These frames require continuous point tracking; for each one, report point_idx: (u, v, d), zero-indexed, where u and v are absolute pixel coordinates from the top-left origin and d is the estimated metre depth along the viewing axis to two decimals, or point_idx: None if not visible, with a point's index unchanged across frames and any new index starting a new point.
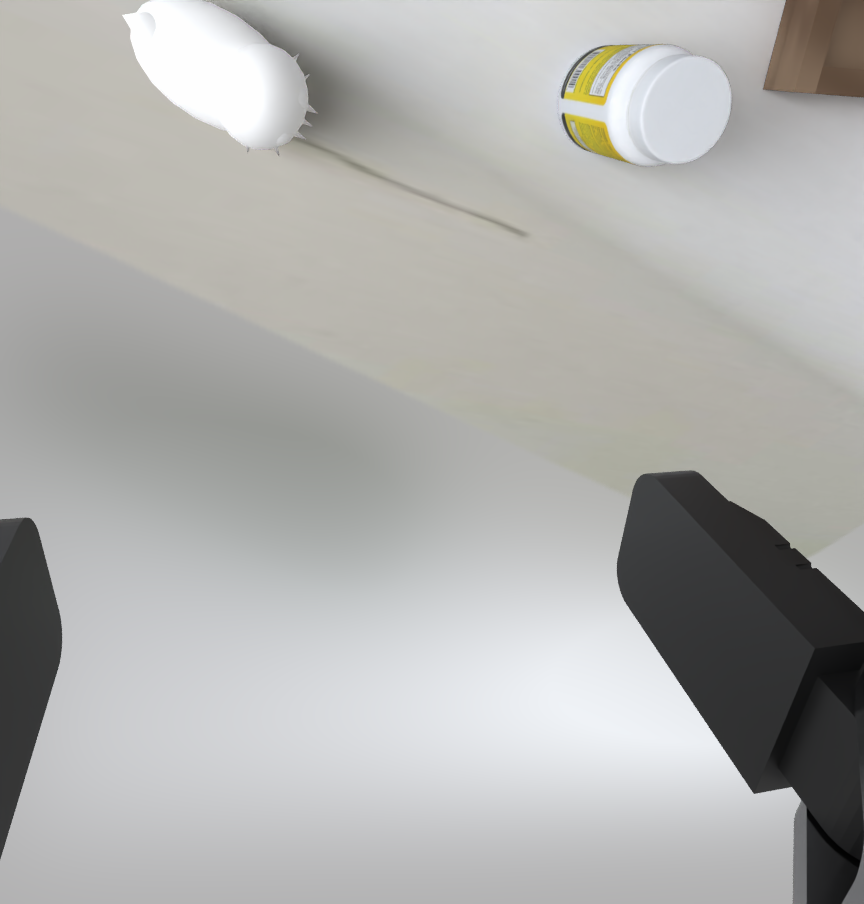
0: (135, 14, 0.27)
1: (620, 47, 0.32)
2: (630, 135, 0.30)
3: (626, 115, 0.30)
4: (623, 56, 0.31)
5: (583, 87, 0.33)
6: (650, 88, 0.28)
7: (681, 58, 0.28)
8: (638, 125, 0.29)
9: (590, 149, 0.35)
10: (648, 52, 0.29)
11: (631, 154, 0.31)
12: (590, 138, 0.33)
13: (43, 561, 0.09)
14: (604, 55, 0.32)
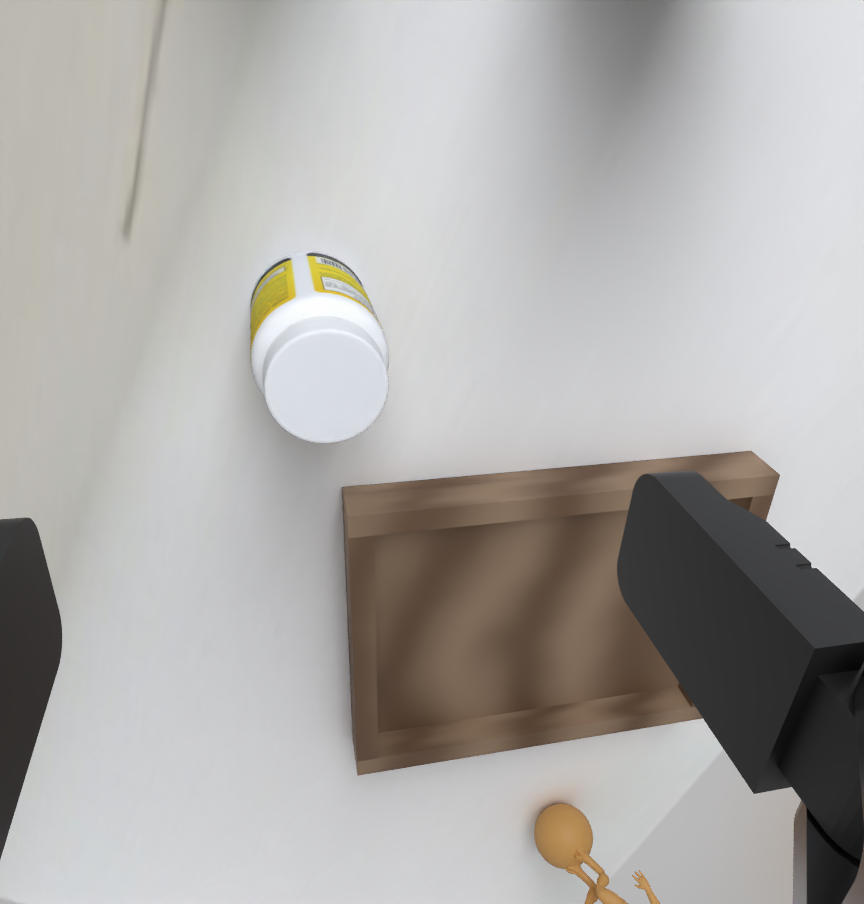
0: None
1: None
2: (288, 328, 0.23)
3: (310, 317, 0.23)
4: (369, 306, 0.25)
5: (325, 271, 0.26)
6: (348, 333, 0.22)
7: (384, 365, 0.23)
8: (303, 331, 0.22)
9: (255, 299, 0.27)
10: (379, 331, 0.25)
11: (263, 338, 0.24)
12: (270, 291, 0.26)
13: (42, 561, 0.09)
14: (362, 290, 0.27)
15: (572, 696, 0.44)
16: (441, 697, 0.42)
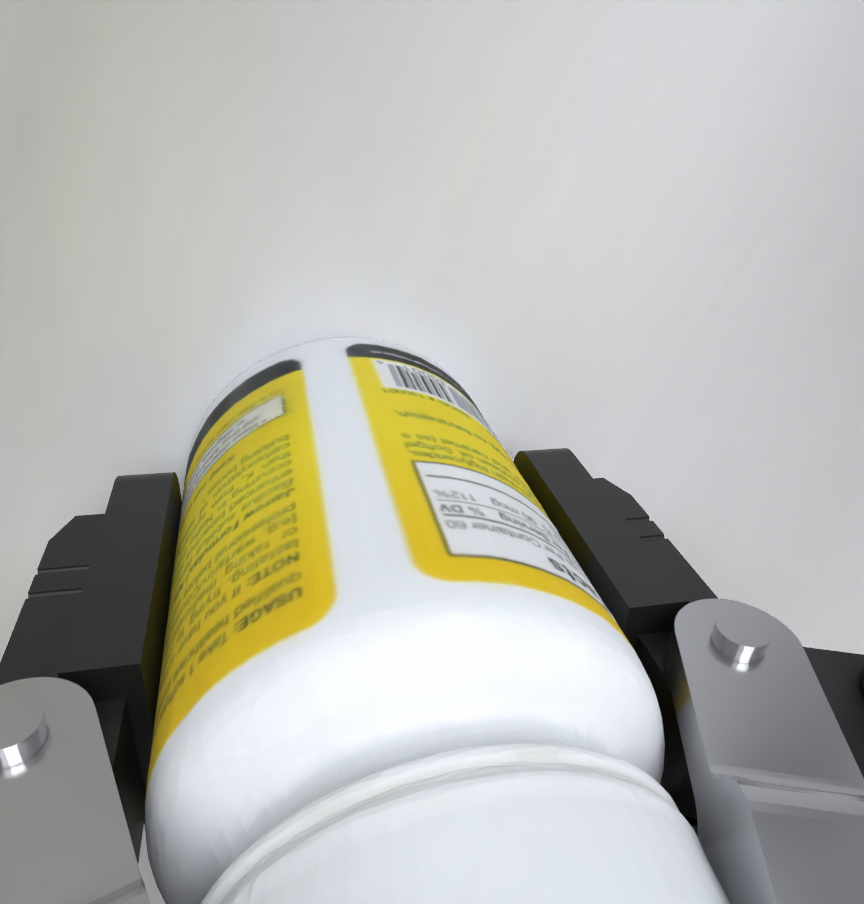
0: None
1: None
2: (308, 826, 0.05)
3: (418, 759, 0.05)
4: (585, 576, 0.07)
5: (420, 426, 0.08)
6: None
7: None
8: None
9: (190, 495, 0.09)
10: (656, 708, 0.06)
11: (192, 798, 0.05)
12: (234, 502, 0.07)
13: None
14: None
15: None
16: None
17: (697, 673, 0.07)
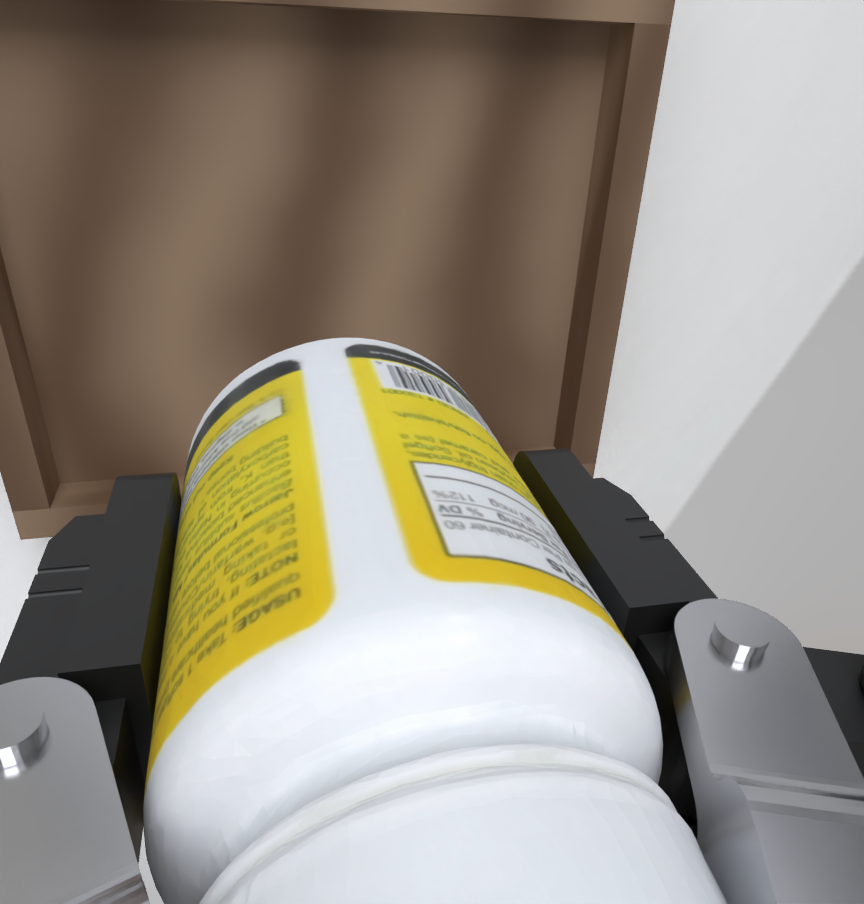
0: None
1: None
2: (306, 827, 0.05)
3: (416, 760, 0.05)
4: (583, 577, 0.07)
5: (418, 427, 0.08)
6: None
7: None
8: None
9: (189, 495, 0.09)
10: (654, 708, 0.06)
11: (191, 799, 0.05)
12: (232, 503, 0.07)
13: None
14: (519, 476, 0.09)
15: None
16: (163, 422, 0.27)
17: (697, 673, 0.07)
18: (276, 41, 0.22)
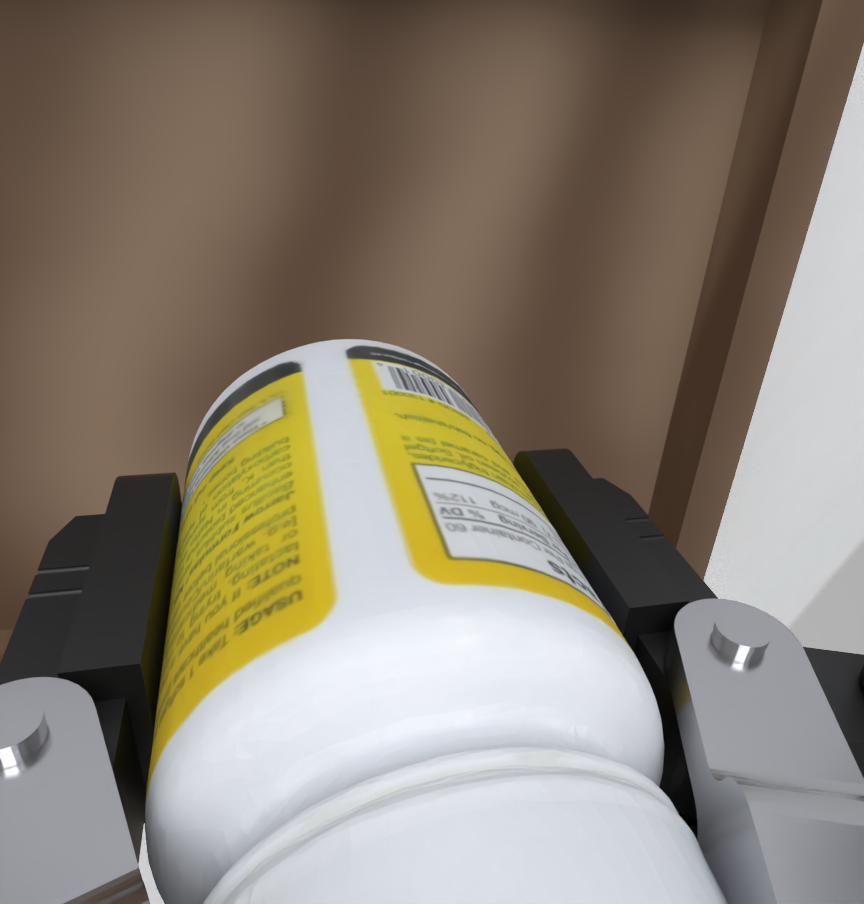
0: None
1: None
2: (308, 830, 0.05)
3: (418, 763, 0.05)
4: (585, 579, 0.07)
5: (419, 430, 0.08)
6: None
7: None
8: None
9: (190, 497, 0.09)
10: (655, 711, 0.06)
11: (192, 802, 0.05)
12: (234, 505, 0.07)
13: None
14: (521, 478, 0.09)
15: None
16: None
17: (697, 673, 0.07)
18: None
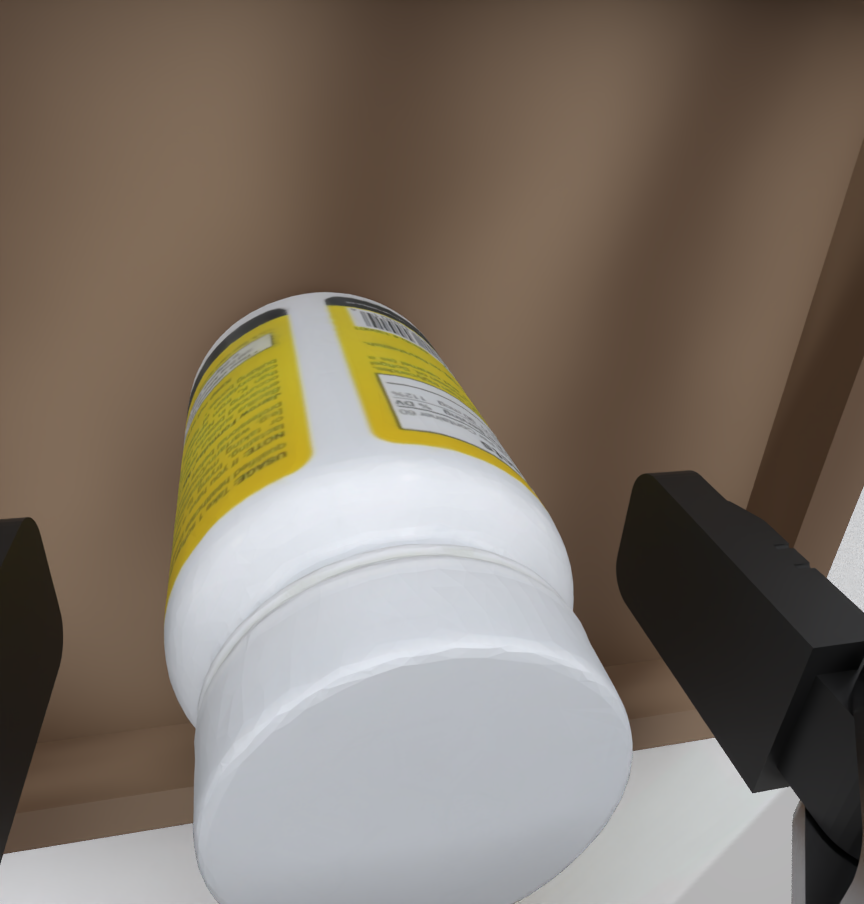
0: None
1: None
2: (290, 594, 0.06)
3: (370, 551, 0.06)
4: (513, 463, 0.09)
5: (384, 353, 0.10)
6: (532, 649, 0.06)
7: (628, 723, 0.07)
8: (355, 645, 0.05)
9: (193, 415, 0.11)
10: (563, 553, 0.08)
11: (202, 601, 0.07)
12: (231, 409, 0.09)
13: (44, 560, 0.09)
14: None
15: None
16: None
17: None
18: None
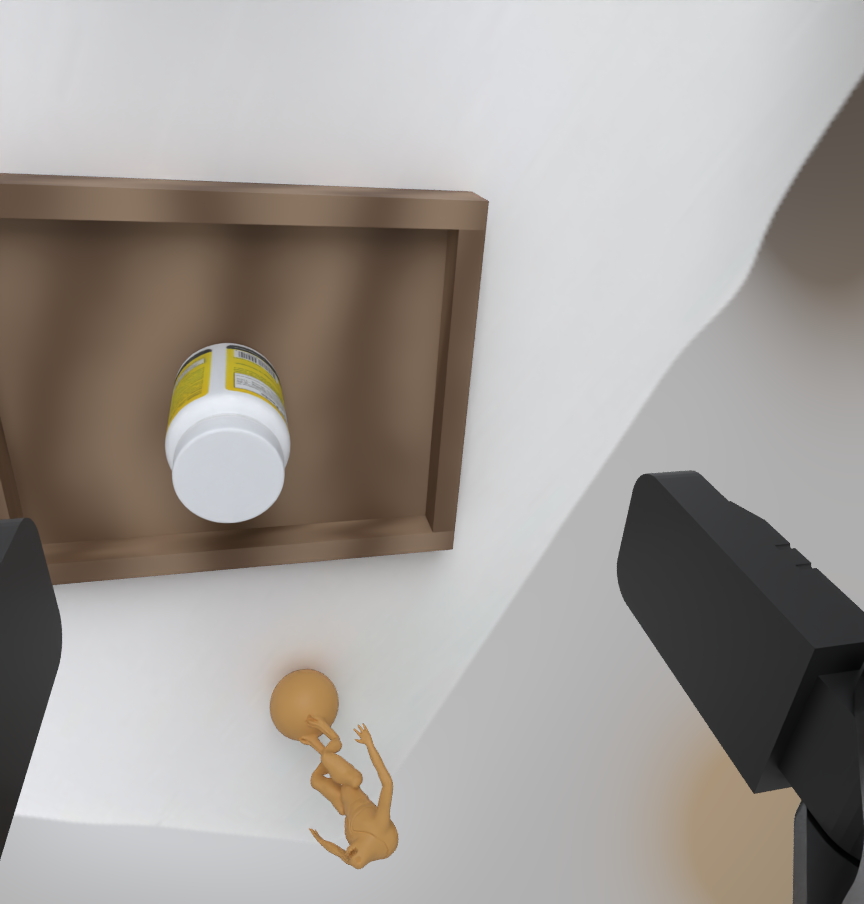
0: None
1: (282, 398, 0.31)
2: (197, 422, 0.26)
3: (218, 414, 0.26)
4: (275, 401, 0.29)
5: (240, 366, 0.30)
6: (249, 432, 0.26)
7: (280, 458, 0.26)
8: (209, 428, 0.25)
9: (176, 385, 0.30)
10: (281, 425, 0.28)
11: (176, 428, 0.27)
12: (188, 382, 0.29)
13: (42, 561, 0.09)
14: (273, 383, 0.31)
15: (290, 515, 0.37)
16: (112, 499, 0.35)
17: None
18: (199, 236, 0.30)
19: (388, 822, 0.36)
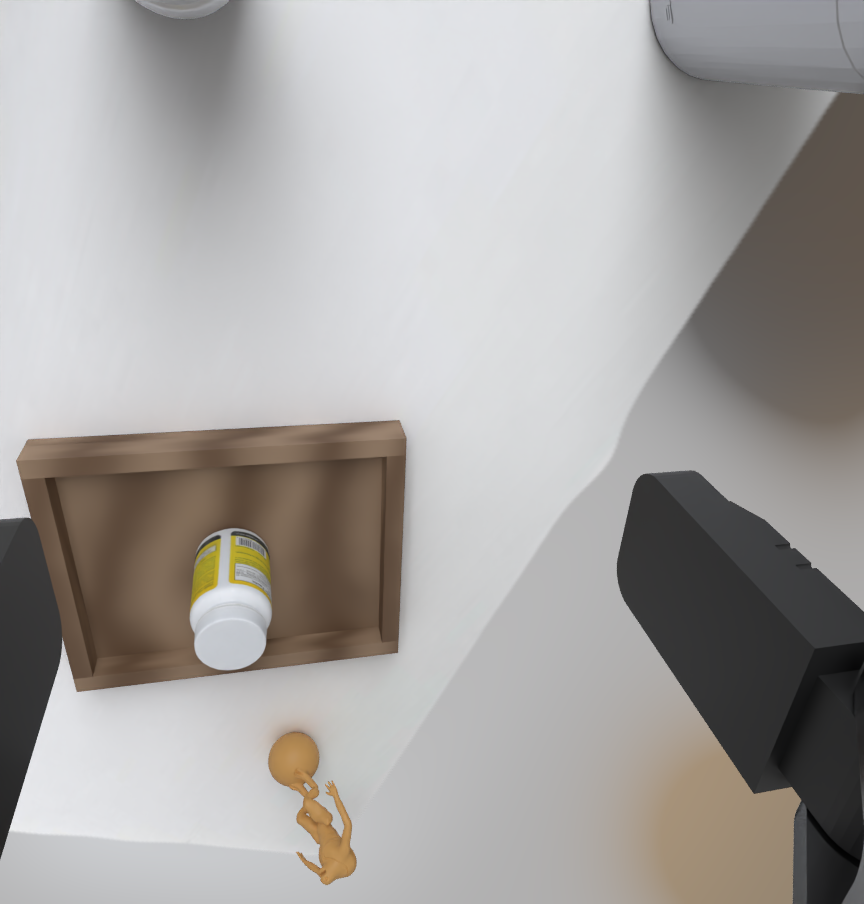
0: None
1: (268, 572, 0.45)
2: (210, 610, 0.41)
3: (223, 603, 0.41)
4: (262, 583, 0.43)
5: (239, 555, 0.44)
6: (243, 619, 0.40)
7: (263, 632, 0.41)
8: (217, 618, 0.40)
9: (196, 564, 0.45)
10: (265, 603, 0.43)
11: (197, 610, 0.42)
12: (204, 568, 0.44)
13: (43, 561, 0.09)
14: (262, 563, 0.45)
15: (279, 631, 0.52)
16: (154, 627, 0.49)
17: None
18: None
19: (348, 852, 0.50)
